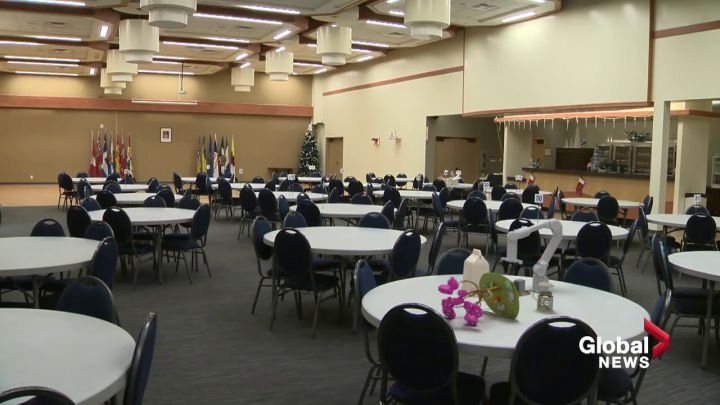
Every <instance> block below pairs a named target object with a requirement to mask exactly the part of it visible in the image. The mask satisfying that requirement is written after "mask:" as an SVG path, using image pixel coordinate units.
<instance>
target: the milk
mask: <svg viewBox="0 0 720 405" xmlns="http://www.w3.org/2000/svg"><path fill="white" fill-rule="evenodd" d="M484 273H490V263H489V262H488V260H487V259H486V258H485V257H484V256H483V255H482V252H481V250H480V249H476V248H473V250H472V253H471V254H470V255H469V256H468V257H467V258H466V259H465V260H464V263H463V272H462V281H463V283H461V284H462V287H461V290H463V289H465V290H466V291H467V293H468V292H470V291H473V290H477V288H475V287H476V286H475V285H474V284H472V283H470V282H464V280H467V281H471V282H473V283H475V284H476V285H477V286H479V282H480V279H481V277H482V275H483V274H484ZM473 288H474V289H473ZM478 288H479V287H478ZM471 289H472V290H471ZM479 289H480V288H479ZM469 290H470V291H469ZM472 294H474V293H471V294H470V295H472ZM479 294H480V293H479ZM468 296H469V295H468ZM468 296H467V297H468ZM472 297H473V298H479V297H478V294H475V295H474V296H472Z"/></svg>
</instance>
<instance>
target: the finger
mask: <svg viewBox="0 0 720 405" xmlns="http://www.w3.org/2000/svg"><path fill="white" fill-rule="evenodd" d="M513 282H514V285H515V287H516V288H517V291H518V292H519V291H525V290H526V279H523V278H522V279H521V278H516V279H514V280H513Z"/></svg>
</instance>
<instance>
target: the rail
mask: <svg viewBox="0 0 720 405" xmlns="http://www.w3.org/2000/svg"><path fill="white" fill-rule="evenodd" d="M510 281H511V282H512V283H513V284H514V281H513V280H510ZM518 295H519V297H522V296H523V297H525V296H529V295H532V291H531V292H530V289H525V291H519V292H518Z"/></svg>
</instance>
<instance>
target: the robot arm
mask: <svg viewBox="0 0 720 405" xmlns="http://www.w3.org/2000/svg"><path fill="white" fill-rule="evenodd" d="M563 227H564V226H563V224H562V222H561V221H560V220H558V219H557V218H553V217H552V218H549V219H545V220H543V221H541V222H540V221H539V222H538V223H536V224H533V225H531V226H524V225H522V226H521V228H517V229H513V230H512V231H511V230H510V231H509V232H508V233H507V235H506V239H507V245H506V257H500V261H501V262H500V263H501V266H502V268H503V272H504V274H508V272H509V266H510V263H513V269H514V270H513V271H514V272H513V273H514V276H515V277H516V276H517V277H518V275H519V272H520V269H521V268H522V266H523V260H520V259H517V257H518V256H517V255H518V239H519V240H520V239H524V238H526V237H529V236H530V235H531V233H533V232H536V231H539V230H542V229H549V230H550V231H551V233H552V237H551V239H550V241H549V243H548V244H547V246H546V248H545V249H544V252H543V254H542V255H541V257H540V258H539V260H538V261H537V262H536V263H535V264H534V265H533V267H532V272H533V274H532V286H531V287H532V288H531V289H529V290H530V291H531V292H532V291H534V292H535V293H538V292H540V291H546V292H547V291H548V292H551V291H550V289H549V287H541V286H538V284H539V283H541V282H549V283H550V280H549V277H548V276H546V266H545V264H546V263H547V264H549V262H550V260H551V259H552V257H553V255H554V254H555V252H556V250H557V248H558V246H559V244H560V243H561V241H562V240H563V237H564V236H563V235H564V233H563ZM548 267H549V266H547V268H548ZM536 287H538V288H536ZM534 288H535V290H533V289H534Z"/></svg>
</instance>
